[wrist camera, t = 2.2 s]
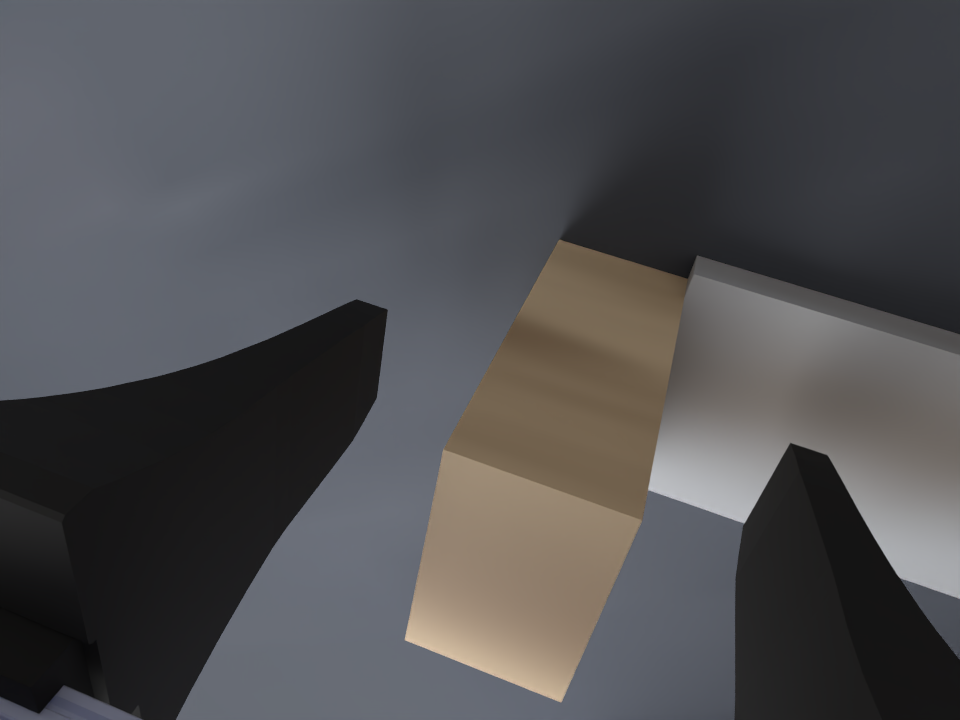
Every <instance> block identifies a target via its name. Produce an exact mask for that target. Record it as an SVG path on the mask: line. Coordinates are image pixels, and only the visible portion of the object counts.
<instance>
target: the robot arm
mask: <svg viewBox="0 0 960 720" xmlns="http://www.w3.org/2000/svg"><path fill="white" fill-rule="evenodd" d="M387 311H388V310H387V309H384V308H381V307H378V306H375V305H372V304H369V303H366V302H363V301H360V300H357V299H356V300H354V301H352V302H349V303H347V304H345V305H342V306H340V307H338V308H336V309H334V310H332V311H329V312H327V313H325V314H323V315H321V316H319V317H317V318H315V319H312V320H310V321H308V322H306V323H304V324H301V325H299V326H297V327H295V328H293V329H290V330H288V331H286V332H284V333H281V334H279V335H277V336H275V337H272V338H270V339H268V340H265V341H262V342H260V343H257V344H255V345H252V346H250V347H247V348H244V349H242V350H239V351H237V352H234V353H232V354H229V355H226V356H224V357H221V358H218V359H215V360H212V361H209V362H206V363H203V364H200V365H197V366H194V367H190V368H187V369H183V370H180V371H176V372H173V373H169V374H165V375H162V376H158V377H153V378H149V379H144V380H139V381H135V382H130V383H125V384H121V385H116V386H111V387H107V388H101V389H96V390H89V391H83V392H77V393H70V394H62V395H54V396H47V397H38V398H29V399H18V400H3V401H0V720H176V718H177V716H178V714H179V712H180V710H181V708H182V706H183V705H184V703H185V701H186V699H187V697H188V695H189V693H190V691H191V689H192V687H193V685H194V684H195V682H196V680H197V678H198V676H199V674H200V673H201V671H202V669H203V667H204V665H205V664H206V662H207V660H208V658H209V656H210V654H211V653H212V651H213V649H214V647H215V645H216V643H217V642H218V640H219V638H220V636H221V634H222V633H223V631H224V629H225V627H226V626H227V624H228V622H229V620H230V619H231V617H232V615H233V614H234V612H235V610H236V608H237V607H238V605H239V603H240V601H241V600H242V598H243V596H244V594H245V593H246V591H247V589H248V588H249V586H250V584H251V583H252V581H253V579H254V578H255V576H256V574H257V573H258V571H259V569H260V568H261V566H262V564H263V563H264V561H265V560H266V558H267V556H268V555H269V553H270V551H271V550H272V548H273V546H274V545H275V544H276V542H277V541H278V539H279V538H280V536H281V535H282V533H283V532H284V531H285V529H286V528H287V526H288V525H289V524H290V522H291V521H292V520H293V518H294V517H295V516H296V515H297V513H298V512H299V511H300V509H301V508H302V507H303V505H304V504H305V503H306V502H307V500H308V499H309V498H310V496H311V495H312V494H313V492H314V491H315V490H316V488H317V487H318V486H319V485H320V483H321V482H322V481H323V479H324V478H325V477H326V475H327V474H328V473H329V472H330V470H331V469H332V468H333V466H334V465H335V464H336V462H337V461H338V460H339V458H340V457H341V456H342V454H343V453H344V452H345V450H346V449H347V448H348V446H349V445H350V443H351V442H352V441H353V439H354V437H355V436H356V434H357V432H358V431H359V429H360V427H361V425H362V424H363V422H364V420H365V418H366V416H367V415H368V413H369V411H370V409H371V407H372V405H373V404H374V402H375V400H376V398H377V392H378V384H379V376H380V368H381V360H382V351H383V343H384V335H385V327H386V319H387ZM735 720H960V660H959V659H958V657H957V656H956V655H955V654H954V652H953V651H952V650H951V649H950V647H949V646H948V645H947V643H946V642H945V641H944V640H943V638H942V637H941V636H940V635H939V633H938V632H937V631H936V630H935V628H934V627H933V625H932V624H931V623H930V621H929V620H928V619H927V617H926V616H925V615H924V613H923V612H922V610H921V609H920V608H919V606H918V605H917V603H916V602H915V600H914V599H913V597H912V596H911V594H910V593H909V591H908V590H907V588H906V587H905V586H904V584H903V583H902V581H901V580H900V578H899V577H898V575H897V574H896V572H895V570H894V569H893V567H892V566H891V564H890V563H889V561H888V559H887V558H886V556H885V555H884V553H883V551H882V550H881V548H880V546H879V545H878V543H877V541H876V540H875V538H874V536H873V535H872V533H871V531H870V529H869V528H868V526H867V524H866V523H865V521H864V519H863V517H862V516H861V514H860V512H859V510H858V508H857V507H856V505H855V503H854V501H853V499H852V498H851V496H850V494H849V492H848V490H847V489H846V487H845V485H844V483H843V481H842V479H841V478H840V476H839V474H838V472H837V470H836V469H835V467H834V465H833V463H832V462H831V460H830V458H829V457H828V455H826V454H823V453H820V452H817V451H814V450H811V449H808V448H805V447H802V446H799V445H796V444H792V443H790V444H789V446H788V448H787V449H786V451H785V453H784V455H783V456H782V458H781V460H780V462H779V464H778V465H777V467H776V469H775V471H774V472H773V474H772V476H771V478H770V479H769V481H768V483H767V485H766V487H765V488H764V490H763V492H762V494H761V495H760V497H759V499H758V501H757V502H756V504H755V506H754V508H753V509H752V511H751V513H750V515H749V517H748V518H747V520H746V522H745V524H744V525H743V531H742V537H741V544H740V550H739V557H738V565H737V572H736V591H735Z"/></svg>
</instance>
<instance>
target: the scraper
mask: <svg viewBox="0 0 960 720" xmlns="http://www.w3.org/2000/svg"><path fill="white" fill-rule="evenodd" d="M790 443H792V444H796V445H799V446H802V447H805V448H808V449H811V450H814V451H817V452H820V453H823V454H826V455H828V457H829V458H830V460H831V462H832V463H833V465H834V467H835V469H836V470H837V472H838V474H839V476H840V478H841V479H842V481H843V483H844V485H845V487H846V489H847V490H848V492H849V494H850V496H851V498H852V499H853V501H854V503H855V505H856V507H857V508H858V510H859V512H860V514H861V516H862V517H863V519H864V521H865V523H866V524H867V526H868V528H869V529H870V531H871V533H872V535H873V536H874V538H875V540H876V541H877V543H878V545H879V546H880V548H881V550H882V551H883V553H884V555H885V556H886V558H887V559H888V561H889V563H890V564H891V566H892V567H893V569H894V570H895V572H896V574H897V575H898V577H899V578H902V579H904V580H907V581H910V582H913V583H916V584H919V585H922V586H924V587H927V588H930V589H933V590H936V591H939V592H942V593H944V594H947V595H950V596H953V597H956V598H959V599H960V334H957V333H954V332H950V331H947V330H944V329H940V328H937V327H934V326H930V325H927V324H924V323H920V322H917V321H914V320H910V319H907V318H904V317H900V316H897V315H894V314H890V313H887V312H884V311H880V310H877V309H874V308H870V307H867V306H864V305H860V304H857V303H854V302H851V301H847V300H844V299H841V298H837V297H834V296H831V295H827V294H824V293H821V292H817V291H814V290H811V289H807V288H804V287H801V286H797V285H794V284H791V283H787V282H784V281H781V280H777V279H774V278H771V277H767V276H764V275H761V274H757V273H754V272H751V271H747V270H744V269H741V268H738V267H734V266H731V265H728V264H724V263H721V262H718V261H714V260H711V259H708V258H704V257H701V256H698V255H697V257H696V259H695V262H694V265H693V267H692V270H691V272H690V275H689V277H688V279H686V278H683V277H680V276H677V275H673V274H670V273H667V272H664V271H660V270H657V269H654V268H651V267H647V266H644V265H641V264H637V263H634V262H631V261H628V260H624V259H621V258H618V257H615V256H611V255H608V254H605V253H601V252H598V251H595V250H592V249H588V248H585V247H582V246H579V245H575V244H572V243H569V242H566V241H562V240H559V241H558V242H557V244H556V246H555V248H554V250H553V252H552V253H551V255H550V257H549V259H548V261H547V262H546V264H545V266H544V268H543V270H542V271H541V273H540V275H539V277H538V279H537V281H536V282H535V284H534V286H533V288H532V290H531V291H530V293H529V295H528V297H527V299H526V301H525V302H524V304H523V306H522V308H521V310H520V311H519V313H518V315H517V317H516V319H515V321H514V322H513V324H512V326H511V328H510V330H509V331H508V333H507V335H506V337H505V339H504V340H503V342H502V344H501V346H500V348H499V350H498V351H497V353H496V355H495V357H494V359H493V360H492V362H491V364H490V366H489V368H488V370H487V371H486V373H485V375H484V377H483V379H482V380H481V382H480V384H479V386H478V388H477V390H476V391H475V393H474V395H473V397H472V399H471V400H470V402H469V404H468V406H467V408H466V409H465V411H464V413H463V415H462V417H461V419H460V420H459V422H458V424H457V426H456V428H455V429H454V431H453V433H452V435H451V437H450V439H449V440H448V442H447V444H446V446H445V448H444V449H443V454H442V459H441V464H440V469H439V474H438V479H437V484H436V489H435V494H434V499H433V504H432V508H431V513H430V518H429V523H428V528H427V533H426V538H425V543H424V548H423V553H422V558H421V563H420V568H419V573H418V577H417V582H416V587H415V592H414V597H413V602H412V607H411V612H410V617H409V622H408V627H407V632H406V637H405V640H406V641H409V642H411V643H414V644H416V645H419V646H421V647H424V648H426V649H429V650H431V651H434V652H436V653H439V654H441V655H444V656H446V657H449V658H451V659H454V660H456V661H459V662H461V663H464V664H466V665H469V666H471V667H474V668H476V669H479V670H481V671H484V672H486V673H489V674H491V675H494V676H496V677H499V678H501V679H504V680H506V681H509V682H511V683H514V684H516V685H519V686H521V687H524V688H526V689H529V690H531V691H534V692H536V693H539V694H541V695H544V696H546V697H549V698H551V699H554V700H556V701H559V702H562V700H563V697H564V695H565V693H566V691H567V688H568V686H569V684H570V682H571V679H572V677H573V675H574V673H575V670H576V668H577V666H578V664H579V661H580V659H581V657H582V655H583V652H584V650H585V648H586V646H587V643H588V641H589V639H590V637H591V634H592V632H593V630H594V628H595V625H596V623H597V621H598V619H599V616H600V614H601V612H602V610H603V607H604V605H605V603H606V601H607V598H608V596H609V594H610V592H611V589H612V587H613V585H614V583H615V580H616V578H617V576H618V574H619V571H620V569H621V567H622V565H623V562H624V560H625V558H626V556H627V553H628V551H629V549H630V547H631V544H632V542H633V540H634V538H635V535H636V533H637V531H638V529H639V526H640V524H641V522H642V519H643V513H644V508H645V503H646V498H647V492H648V490H650V491H653V492H656V493H659V494H662V495H664V496H667V497H670V498H673V499H676V500H679V501H682V502H684V503H687V504H690V505H693V506H696V507H699V508H702V509H704V510H707V511H710V512H713V513H716V514H719V515H722V516H724V517H727V518H730V519H733V520H736V521H739V522H742V523H744V524H745V522H746V520H747V518H748V517H749V515H750V513H751V511H752V509H753V508H754V506H755V504H756V502H757V501H758V499H759V497H760V495H761V494H762V492H763V490H764V488H765V487H766V485H767V483H768V481H769V479H770V478H771V476H772V474H773V472H774V471H775V469H776V467H777V465H778V464H779V462H780V460H781V458H782V456H783V455H784V453H785V451H786V449H787V448H788V446H789V444H790Z"/></svg>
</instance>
